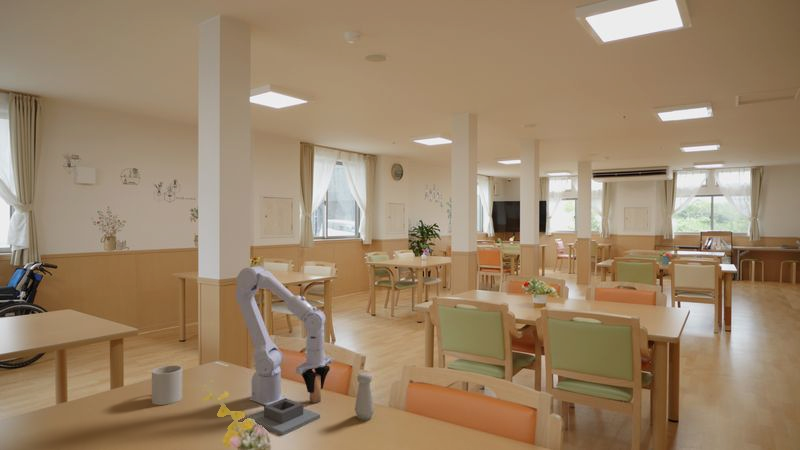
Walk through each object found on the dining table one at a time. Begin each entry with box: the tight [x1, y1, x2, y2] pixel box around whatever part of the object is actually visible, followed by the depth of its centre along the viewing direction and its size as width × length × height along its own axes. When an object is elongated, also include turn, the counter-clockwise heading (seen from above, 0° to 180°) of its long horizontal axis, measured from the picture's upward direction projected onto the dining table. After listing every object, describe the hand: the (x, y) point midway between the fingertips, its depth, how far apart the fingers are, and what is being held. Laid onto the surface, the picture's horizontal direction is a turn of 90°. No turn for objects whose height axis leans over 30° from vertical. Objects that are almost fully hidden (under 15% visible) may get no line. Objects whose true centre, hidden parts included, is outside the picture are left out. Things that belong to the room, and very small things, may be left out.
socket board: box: [246, 398, 321, 436], centre depth 134 cm, size 16×14×4 cm
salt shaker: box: [354, 371, 375, 421], centre depth 135 cm, size 6×6×13 cm
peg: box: [309, 374, 322, 403], centre depth 147 cm, size 4×4×8 cm
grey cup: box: [151, 364, 183, 406], centre depth 150 cm, size 11×10×10 cm
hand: (315, 390), depth 147 cm, fingers closed on peg, 3 cm apart
